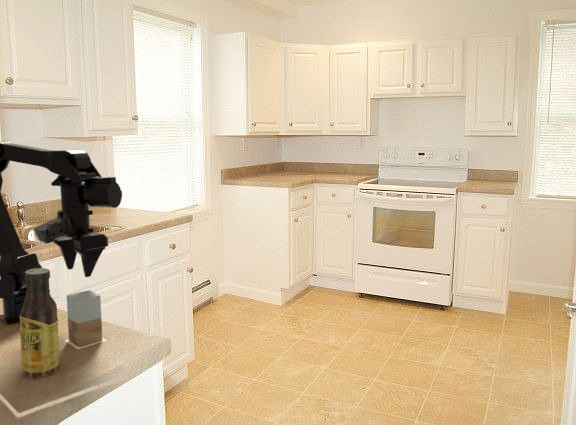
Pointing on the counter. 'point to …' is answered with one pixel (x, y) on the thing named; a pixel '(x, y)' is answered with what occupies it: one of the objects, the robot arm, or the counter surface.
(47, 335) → the sauce bottle
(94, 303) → the bluegrey block
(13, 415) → the counter surface
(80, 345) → the walnut block
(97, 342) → the pad
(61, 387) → the counter surface
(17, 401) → the counter surface
